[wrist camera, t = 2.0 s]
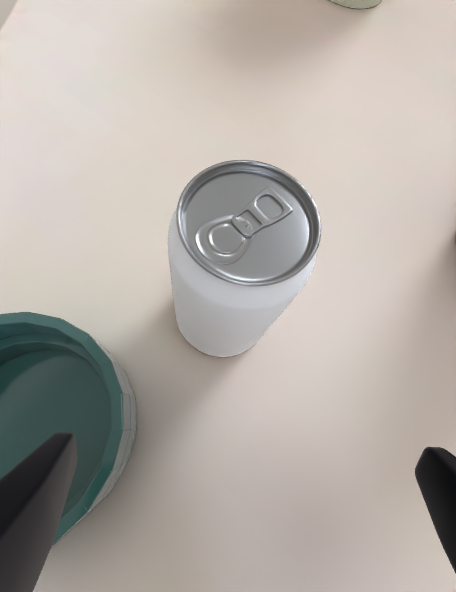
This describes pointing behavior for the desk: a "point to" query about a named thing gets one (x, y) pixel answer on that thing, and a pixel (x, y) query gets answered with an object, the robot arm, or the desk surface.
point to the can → (239, 253)
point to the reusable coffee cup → (358, 3)
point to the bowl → (64, 405)
